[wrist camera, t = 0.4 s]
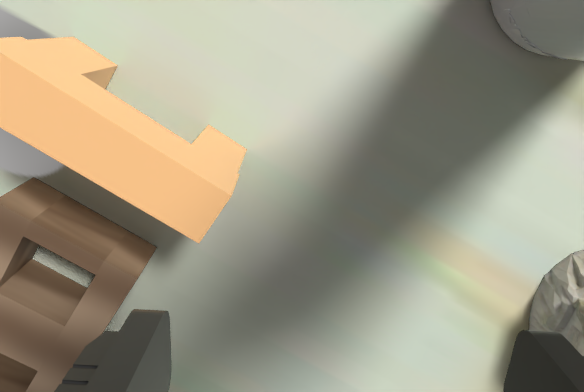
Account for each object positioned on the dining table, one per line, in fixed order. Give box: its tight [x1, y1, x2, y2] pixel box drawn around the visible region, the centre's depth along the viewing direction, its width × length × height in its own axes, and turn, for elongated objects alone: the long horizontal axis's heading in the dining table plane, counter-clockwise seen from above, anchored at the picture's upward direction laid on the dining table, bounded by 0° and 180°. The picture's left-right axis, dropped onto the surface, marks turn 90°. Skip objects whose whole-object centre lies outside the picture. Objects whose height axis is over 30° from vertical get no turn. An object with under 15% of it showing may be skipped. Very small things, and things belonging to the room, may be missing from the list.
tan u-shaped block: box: [0, 37, 247, 243], centre depth 23 cm, size 12×3×8 cm, turn 56°
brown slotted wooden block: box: [0, 177, 157, 392], centre depth 30 cm, size 16×9×4 cm, turn 146°
